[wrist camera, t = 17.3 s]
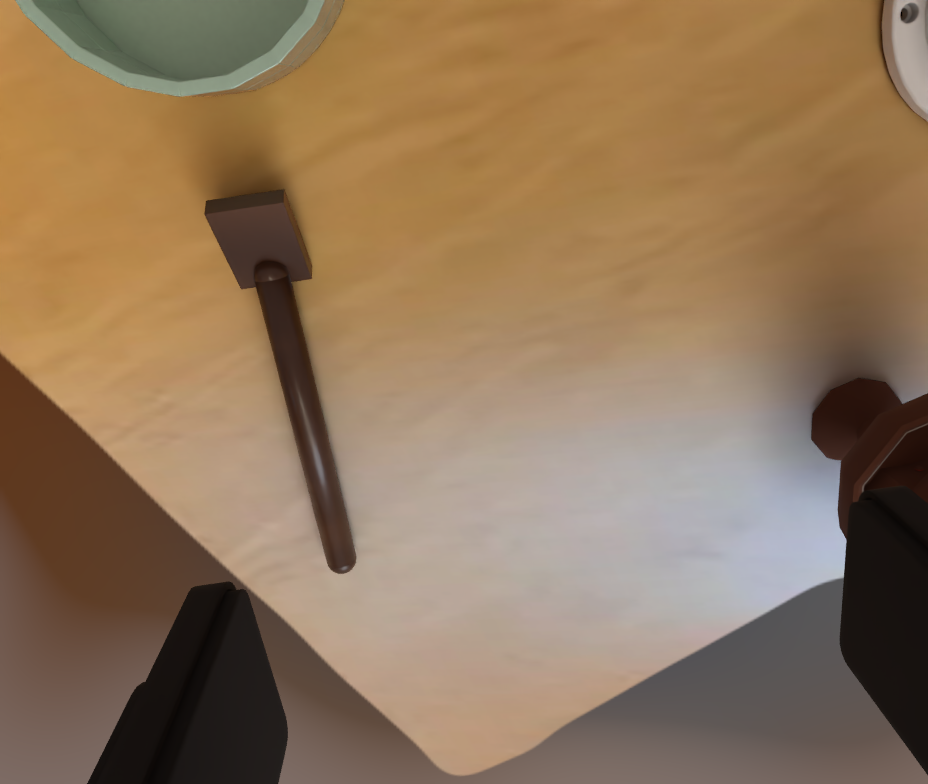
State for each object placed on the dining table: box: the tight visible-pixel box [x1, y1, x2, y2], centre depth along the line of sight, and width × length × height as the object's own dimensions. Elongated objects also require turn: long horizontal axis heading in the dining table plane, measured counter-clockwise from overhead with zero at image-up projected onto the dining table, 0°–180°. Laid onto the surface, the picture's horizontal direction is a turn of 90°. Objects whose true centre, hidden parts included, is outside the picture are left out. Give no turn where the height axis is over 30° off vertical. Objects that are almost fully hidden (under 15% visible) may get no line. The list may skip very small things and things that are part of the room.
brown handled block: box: [205, 189, 356, 574], centre depth 40 cm, size 21×4×11 cm
